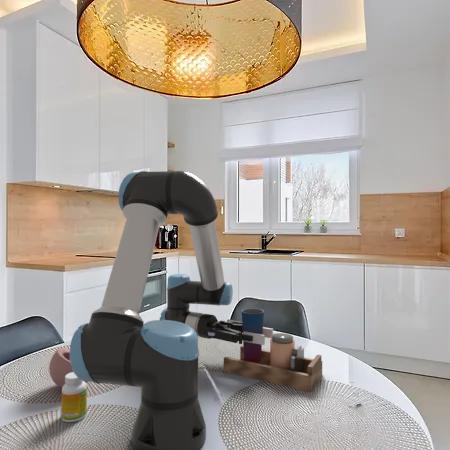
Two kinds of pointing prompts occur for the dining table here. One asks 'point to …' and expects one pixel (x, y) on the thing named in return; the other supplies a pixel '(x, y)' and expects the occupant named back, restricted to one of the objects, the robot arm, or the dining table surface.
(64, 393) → the supplement bottle
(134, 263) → the robot arm
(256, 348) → the cup
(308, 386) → the wooden tray
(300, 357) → the pusher
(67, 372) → the pink round piece
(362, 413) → the spoon
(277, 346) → the jar
